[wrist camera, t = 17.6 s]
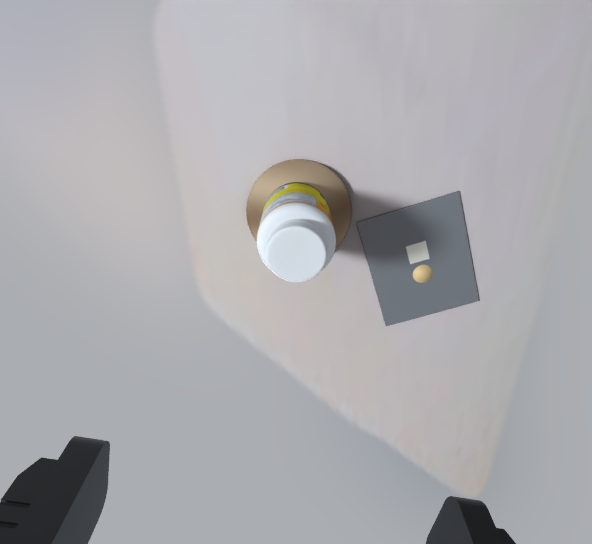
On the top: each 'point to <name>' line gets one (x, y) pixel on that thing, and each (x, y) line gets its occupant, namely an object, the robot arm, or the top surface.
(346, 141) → the top surface
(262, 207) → the cork coaster
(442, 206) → the gray board
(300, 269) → the supplement bottle
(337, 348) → the top surface
